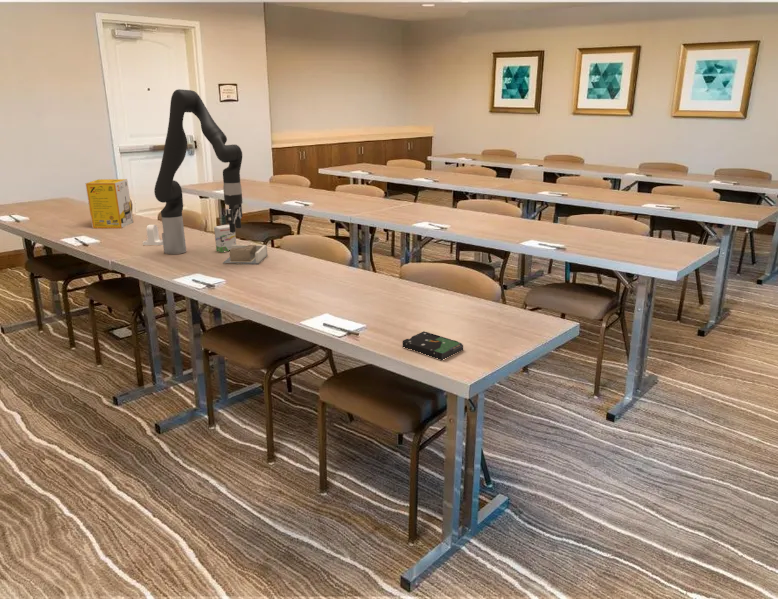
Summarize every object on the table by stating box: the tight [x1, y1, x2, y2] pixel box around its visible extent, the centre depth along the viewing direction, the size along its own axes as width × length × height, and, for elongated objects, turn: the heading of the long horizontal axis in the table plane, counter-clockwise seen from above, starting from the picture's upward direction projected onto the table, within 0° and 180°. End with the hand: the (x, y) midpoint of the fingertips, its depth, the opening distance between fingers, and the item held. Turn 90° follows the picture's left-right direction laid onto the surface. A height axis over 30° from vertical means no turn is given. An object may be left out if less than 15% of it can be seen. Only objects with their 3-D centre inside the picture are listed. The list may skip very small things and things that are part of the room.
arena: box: [222, 244, 268, 265], centre depth 278 cm, size 16×15×5 cm
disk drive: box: [402, 330, 464, 361], centre depth 181 cm, size 10×3×15 cm
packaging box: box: [85, 178, 134, 229], centre depth 350 cm, size 16×16×25 cm
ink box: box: [213, 224, 237, 253], centre depth 294 cm, size 8×5×12 cm, turn 129°
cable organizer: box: [142, 224, 163, 246], centre depth 307 cm, size 5×10×10 cm, turn 85°
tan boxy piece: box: [229, 244, 257, 261], centre depth 278 cm, size 9×10×5 cm
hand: (235, 230), depth 271 cm, fingers open, 8 cm apart
